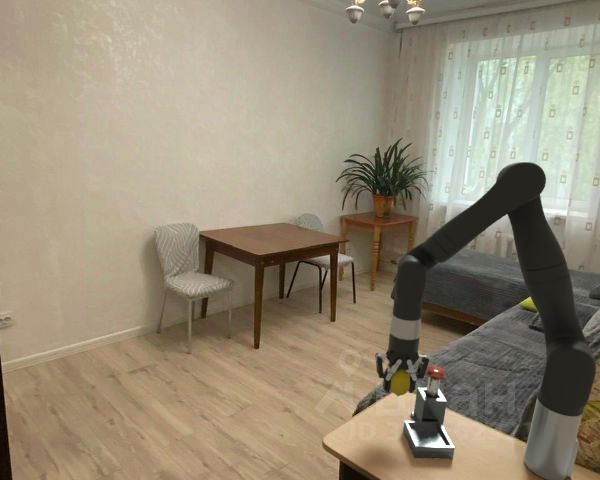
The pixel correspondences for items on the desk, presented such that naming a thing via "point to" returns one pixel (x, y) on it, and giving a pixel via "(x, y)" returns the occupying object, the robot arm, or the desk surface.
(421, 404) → the press column
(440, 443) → the square metal tray
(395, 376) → the lemon
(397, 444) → the desk surface
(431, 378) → the plunger
